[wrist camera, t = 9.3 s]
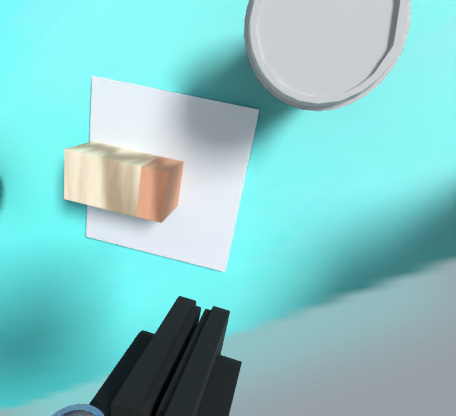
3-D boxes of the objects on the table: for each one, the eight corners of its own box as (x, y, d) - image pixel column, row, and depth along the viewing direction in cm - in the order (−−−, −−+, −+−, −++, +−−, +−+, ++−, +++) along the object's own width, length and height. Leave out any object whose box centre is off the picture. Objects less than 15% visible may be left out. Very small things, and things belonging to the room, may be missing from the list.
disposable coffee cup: (325, 124, 32) (344, 141, 21) (239, 70, 32) (212, 58, 20) (393, 24, 28) (460, -19, 17) (297, -37, 28) (303, -121, 17)
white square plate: (259, 109, 32) (259, 109, 32) (226, 269, 39) (225, 272, 38) (95, 76, 34) (92, 75, 34) (88, 234, 40) (86, 236, 40)
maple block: (167, 172, 30) (64, 148, 31) (161, 223, 32) (64, 199, 33) (183, 161, 35) (93, 141, 36) (177, 206, 37) (92, 185, 38)
